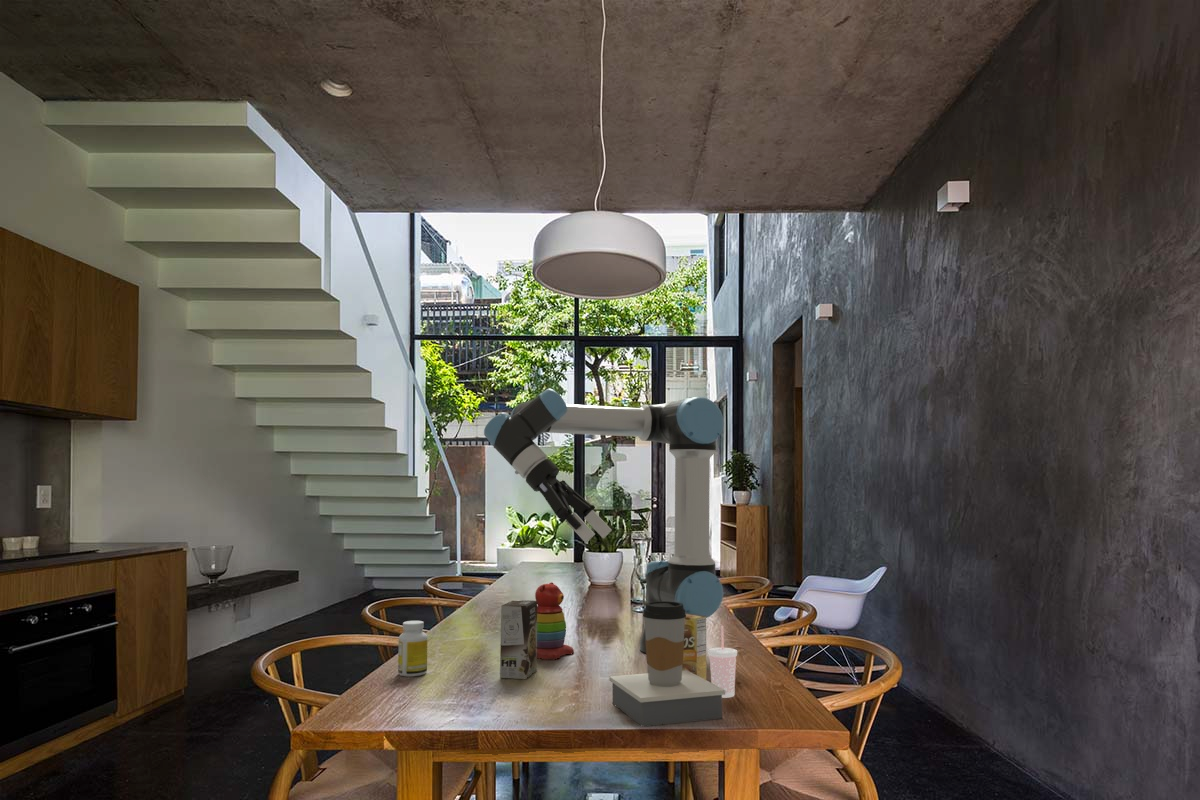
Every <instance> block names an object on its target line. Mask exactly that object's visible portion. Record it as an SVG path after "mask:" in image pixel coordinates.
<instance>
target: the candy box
mask: <svg viewBox="0 0 1200 800" xmlns="http://www.w3.org/2000/svg"><path fill="white" fill-rule="evenodd" d="M682 670H688V671H690V672H692V673H693V674H695V675H697V676H699V677H701V678H703V679H705V680H707V618H706V616H700V615H692V614H686V617H685V626H684V652H683V664H682Z"/></svg>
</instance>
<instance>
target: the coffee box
mask: <svg viewBox="0 0 1200 800" xmlns="http://www.w3.org/2000/svg"><path fill="white" fill-rule="evenodd" d="M537 606H538V604H537V601H536V600H526V599H525V600H524V599H522V600H511V601H508V602H506V603H504V604H502V605H500V607H501V608H500V652H499V653H500V655H499V657H500V658H499V659H500V660H499V661H500V662H499V665H500V666H499V678H501V679H515V680H527V677H528V678H530V677H531V676H532V675H533V674H534V673H535V672H537V671H538V668H537V664H538V662H537V661H538V658H537ZM532 673H533V674H532Z"/></svg>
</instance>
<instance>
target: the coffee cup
mask: <svg viewBox="0 0 1200 800" xmlns="http://www.w3.org/2000/svg"><path fill="white" fill-rule="evenodd" d="M642 616H643V618H644V619H643V620H644V627H645V636H646V639H645V643H646V653H645V654H646V663H647V673H648V680H649V681H650V684H652V685H654V686H660V687H672V686H677V685H679V684H680V681H681V680H682V664H683V652H684V626H685V617H686V614H685V609H684V607H683V604H682V603H679V602H670V601H657V602H649V603H645V608H644V609H643V615H642Z"/></svg>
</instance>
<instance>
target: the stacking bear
mask: <svg viewBox="0 0 1200 800" xmlns="http://www.w3.org/2000/svg"><path fill="white" fill-rule="evenodd" d="M534 597H535V601H537V659H540V658H542V660H546V659H556V660H558V659H557V658H559V659H560V658H561V657H562V656H561V655H564V656H566V655H565V654H571V653H573V654H574V653H575V650H574V648H573V647H572V646H570V645H567V644H565V638H566V633H567V632H566V631H567V622H566V619H565V614H564V611H563V610H564V609H563V608H562V607H561V606H560V605H561V604H562V603H563V601H564V597H565V595H564V592H562V590H561V589H560V587H558V586H557V585H556V584H555V583H553V581H551V582H549V583H544V584H540V585H539V586H538V587H537V588H536V590H535V594H534ZM571 655H572V654H571ZM560 656H561V657H560Z"/></svg>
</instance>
